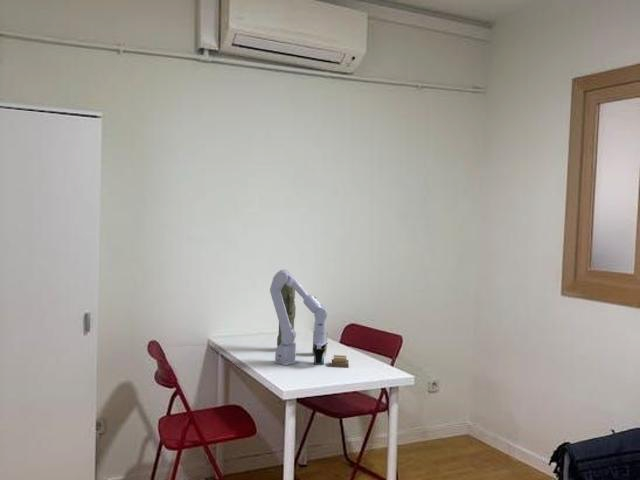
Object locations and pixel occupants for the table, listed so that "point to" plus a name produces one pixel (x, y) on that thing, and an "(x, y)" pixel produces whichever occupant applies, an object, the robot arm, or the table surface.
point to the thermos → (288, 306)
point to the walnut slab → (340, 364)
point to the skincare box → (325, 346)
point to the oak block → (339, 359)
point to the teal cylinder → (319, 363)
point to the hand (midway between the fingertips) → (319, 361)
